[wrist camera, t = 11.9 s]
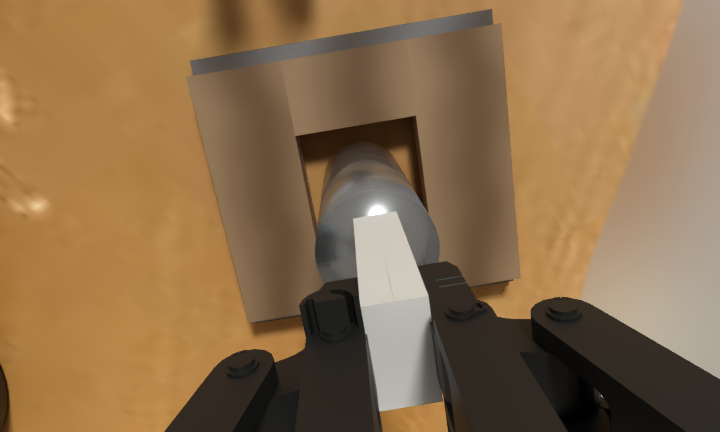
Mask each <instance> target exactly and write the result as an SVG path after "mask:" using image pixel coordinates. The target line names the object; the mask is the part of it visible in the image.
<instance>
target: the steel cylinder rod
mask: <svg viewBox="0 0 720 432" xmlns="http://www.w3.org/2000/svg"><path fill="white" fill-rule="evenodd" d="M390 212H397V214H398V217H399V220H400V222H401V225H402V228H403V230H404V233H405V235H406V238H407V241H408V243H409V246H410V249H411V251H412V254H413V256H414V259H415V262H416V264H417V266H419V265H425V264H432V263H438V260H439V254H440V242H439V236H438V233H437V230H436V227H435V225H434V223H433V221H432V219H431V217H430V216H429V214H428V212H427V211H426V209H425V208H424V206H423V204H422V203H421V201H420V199H419V198H418V196H417V194H416V193H415V191H414V189H413V188H412V186H411V184H410V183H409V181H408V179H407V178H406V176H405V174H404V173H403V171H402V170H401V168H400V166H399V165H398V163H397V161H396V160H395V158H394V157H393V155H392V154H391V153H390V152H389V151H388V150H387V149H386V148H384V147H383V146H381V145H379V144H377V143H374V142H371V141H355V142H351V143H348V144H346V145H344V146H342V147H341V148H339V149H338V150H337V151H336V152H335V153H334V154H333V155H332V156H331V158H330V159H329V161H328V163H327V166H326V169H325V175H324V182H323V190H322V198H321V205H320V213H319V220H318V228H317V235H316V243H315V259H316V264H317V268H318V271H319V273H320V276H321V278H322V279H323V281H324V282H325V283H326V282H331V281H337V280H343V279H349V278H355V277H358V274H357V262H356V249H355V236H354V223H353V219H354V218H360V217H366V216H372V215H378V214H384V213H390Z"/></svg>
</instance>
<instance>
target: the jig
mask: <svg viewBox="0 0 720 432" xmlns="http://www.w3.org/2000/svg"><path fill="white" fill-rule="evenodd" d="M190 63H191V67H192V71H193V75H194V76H190V77H186V79H187V83H188V87H189V91H190V94H191V98H192V102H193V106H194V110H195V114H196V118H197V122H198V126H199V130H200V134H201V138H202V141H203V145H204V149H205V153H206V157H207V161H208V165H209V169H210V173H211V177H212V181H213V185H214V188H215V192H216V196H217V200H218V204H219V208H220V212H221V216H222V220H223V224H224V228H225V232H226V235H227V239H228V243H229V247H230V251H231V255H232V259H233V263H234V267H235V271H236V275H237V279H238V282H239V286H240V290H241V294H242V298H243V302H244V306H245V310H246V314H247V318H248V322H249V323H251V322H256V323H260V322H266V321H272V320H278V319H284V318H290V317H296V316H301V313H300V308H299V304H300V303H301V301H302V300H303V299H304V298H305V297H307V296H308V295H309V294H312V293H314V292H316V291H318V290H320V288H321V287H322V286H323V285H324V284H325V282H324V281H323V279H322V278H321V276H320V273H319V271H318V268H317V264H316V259H315V243H316V235H317V223H316V218H315V213H314V208H313V203H312V198H311V193H310V188H309V183H308V178H307V173H306V168H305V163H304V158H303V153H302V148H301V142H300V137H299V135H304V134H310V133H316V132H322V131H328V130H334V129H340V128H346V127H352V126H358V125H364V124H369V123H375V122H381V121H387V120H393V119H399V118H405V117H412V125H413V132H414V140H415V148H416V155H417V163H418V171H419V178H420V186H421V193H422V201H423V206H424V208H425V209H426V211H427V212H428V214H429V216H430V217H431V219H432V221H433V223H434V225H435V227H436V230H437V233H438V236H439V242H440V254H439V260H438V262H444V261H447V262H449V263H451V264H453V265H455V266H457V267H458V268H459V270H460V272H461V273H462V276H463V277H464V279H465V280H466V283H467V284H468V286H469V287H470V288H472V287H478V286H484V285H490V284H496V283H502V282H508V281H513V279H517V278H520V266H519V253H518V239H517V226H516V213H515V199H514V186H513V173H512V160H511V146H510V133H509V120H508V106H507V93H506V80H505V66H504V53H503V40H502V26H501V23H500V24H494V25H493V18H492V9H490V10H484V11H478V12H473V13H467V14H461V15H455V16H449V17H443V18H438V19H432V20H426V21H420V22H414V23H408V24H403V25H397V26H391V27H385V28H379V29H373V30H367V31H362V32H356V33H350V34H344V35H338V36H332V37H327V38H321V39H315V40H309V41H303V42H297V43H292V44H286V45H280V46H274V47H268V48H262V49H256V50H251V51H245V52H239V53H233V54H227V55H221V56H216V57H210V58H204V59H198V60H192V61H190Z"/></svg>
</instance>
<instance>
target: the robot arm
mask: <svg viewBox="0 0 720 432" xmlns="http://www.w3.org/2000/svg"><path fill="white" fill-rule="evenodd" d="M353 223H354V236H355V249H356V262H357V274H358V277H355V278H349V279H343V280H337V281H331V282H326V283H325V284H324V285H323V286H322V287H321V288H320V290H318V291H316V292H314V293H312V294H309V295H308V296H307V297H305V298H304V299H303V300H302V301H301V303H300V304H299V308H300V313H301V317H302V322H303V326H304V331H305V335H306V344H305V349H303V350H302V351H300V352H299V353H297V354H296V355H293V356H291V357H289V358H286V359H283V360H280V361H278V362H274V359H273V356H272V354H271V353H269V352H267V351H265V350H258V349H253V350H243V351H239V353H238V352H237V353H234V354H232V355H231V356H229V357H227V358H226V359H224V360H222V361H221V362H220V363H219V364H218V365H217V366H216V367H215V368H214V369H213V370H212V371H211V373H210V374H209V375H208V376H207V378H206V379H205V380H204V382H203V383H202V384H201V385H200V387H199V388H198V389H197V391H196V392H195V393H194V394H193V396H192V397H191V398H190V400H189V401H188V402H187V403H186V405H185V406H184V407H183V409H182V410H181V411H180V412H179V414H178V415H177V416H176V418H175V419H174V420H173V421H172V423H171V424H170V425H169V426H168V428H167V429H166V430H165V432H383V429H382V423H381V417H380V412H379V411H386V410H392V409H398V408H404V407H411V406H417V405H423V404H429V403H435V402H441V401H443V400H442V393H443V397H444V404H445V412H446V419H447V426H448V432H720V379H718V378H717V377H715V376H713V375H712V374H710V373H708V372H706V371H704V370H703V369H701V368H700V367H698V366H696V365H694V364H693V363H691V362H689V361H687V360H686V359H684V358H682V357H681V356H679V355H677V354H675V353H674V352H672V351H670V350H669V349H667V348H665V347H663V346H662V345H660V344H658V343H656V342H655V341H653V340H651V339H650V338H648V337H646V336H645V335H643V334H641V333H639V332H638V331H636V330H634V329H632V328H631V327H629V326H627V325H626V324H624V323H622V322H620V321H619V320H617V319H615V318H614V317H612V316H610V315H608V314H607V313H605V312H603V311H602V310H600V309H598V308H596V307H594V306H593V305H591V304H589V303H586V302H584V301H582V300H577V299H572V298H569V297H562V298H560V297H555V298H552V299H547V300H543V301H541V302H539V303H537V304H535V305H534V306H533V307H532V309H531V319H506V318H501V317H497V316H496V314H495V312H494V311H493V309H492V308H491V307H490V306H489V305H488V304H487V303H485V302H483V301H480V300H477V299H476V298H475V296H474V294H473V292H472V291H471V289H470V287H469V286H468V284H467V283H466V280H465V279H464V277H463V276H462V273H461V272H460V270H459V268H458V267H457V266H455V265H453V264H451V263H449V262H447V261H444V262H438V263H432V264H425V265H419V266H417V264H416V262H415V259H414V256H413V254H412V251H411V249H410V246H409V243H408V241H407V238H406V235H405V233H404V230H403V228H402V225H401V222H400V220H399V217H398V214H397V212H390V213H384V214H378V215H372V216H366V217H360V218H354V219H353ZM441 390H442V392H441ZM601 395H602V396H603V397H601ZM6 411H7V393H6V386H5V381H4V378H3V374H2V372H1V369H0V432H1V430H2V428H3V425H4V421H5V418H6Z"/></svg>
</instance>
